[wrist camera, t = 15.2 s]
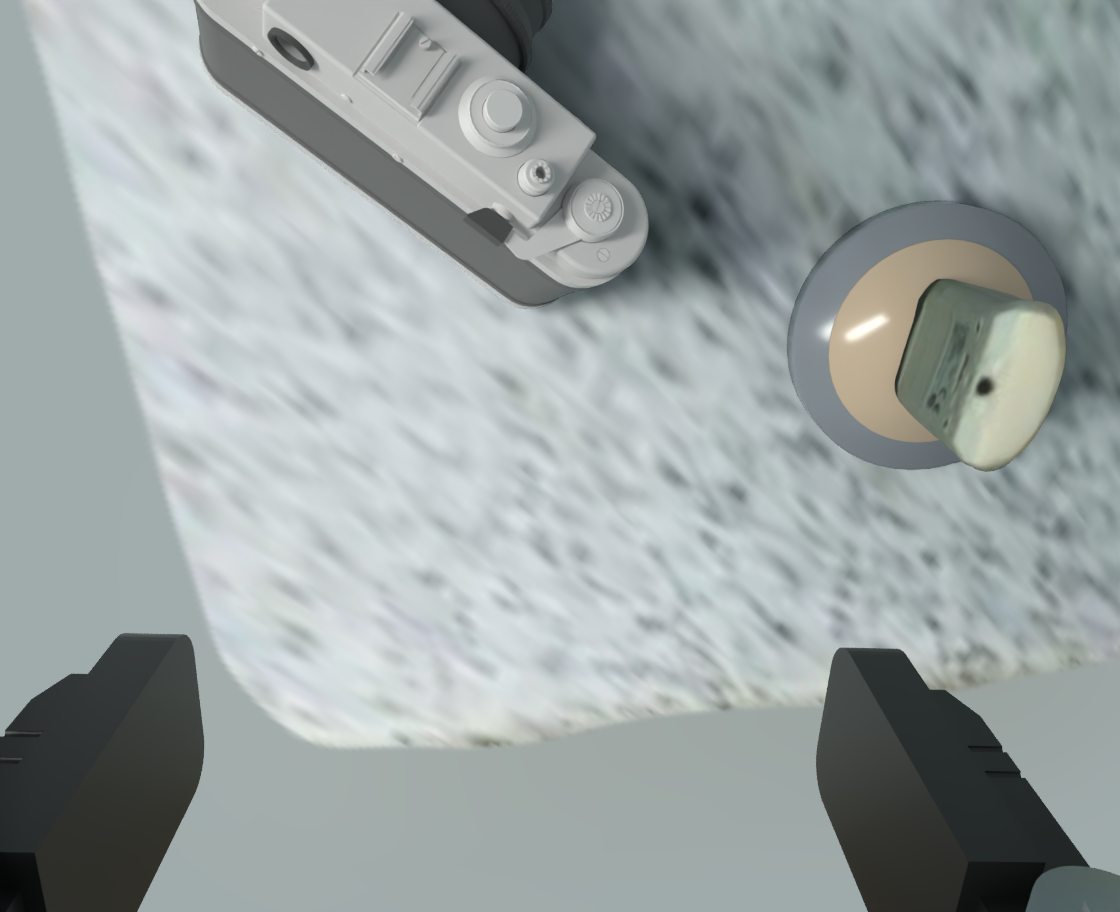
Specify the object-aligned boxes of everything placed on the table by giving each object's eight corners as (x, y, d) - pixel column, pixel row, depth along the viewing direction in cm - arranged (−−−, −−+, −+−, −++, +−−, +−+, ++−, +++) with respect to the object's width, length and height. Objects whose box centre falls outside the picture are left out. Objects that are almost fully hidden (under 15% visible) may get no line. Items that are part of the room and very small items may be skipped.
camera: (527, 340, 37) (622, 314, 28) (169, 78, 33) (130, -65, 23) (646, 159, 39) (778, 73, 29) (317, -117, 34) (340, -332, 24)
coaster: (783, 218, 37) (794, 223, 36) (1057, 185, 37) (1080, 188, 35) (790, 470, 41) (800, 485, 40) (1038, 441, 41) (1058, 455, 39)
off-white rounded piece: (849, 295, 37) (930, 345, 29) (977, 243, 36) (1092, 280, 29) (888, 421, 39) (973, 497, 31) (1010, 373, 38) (1126, 439, 31)
